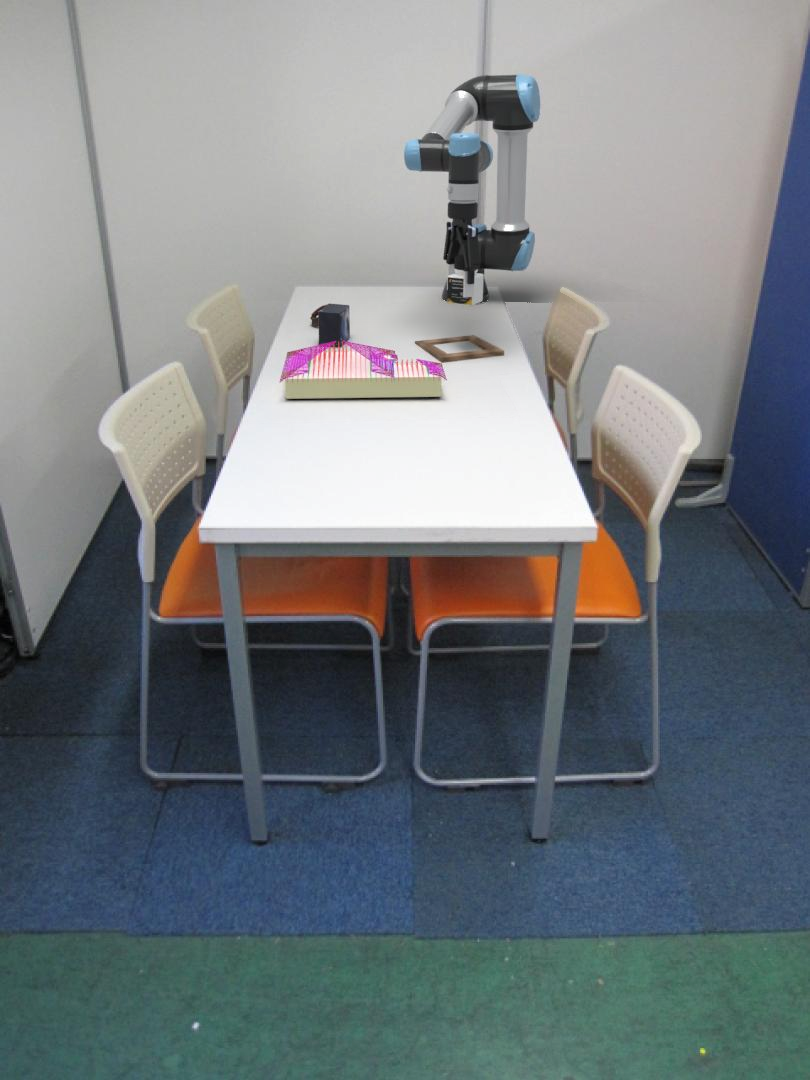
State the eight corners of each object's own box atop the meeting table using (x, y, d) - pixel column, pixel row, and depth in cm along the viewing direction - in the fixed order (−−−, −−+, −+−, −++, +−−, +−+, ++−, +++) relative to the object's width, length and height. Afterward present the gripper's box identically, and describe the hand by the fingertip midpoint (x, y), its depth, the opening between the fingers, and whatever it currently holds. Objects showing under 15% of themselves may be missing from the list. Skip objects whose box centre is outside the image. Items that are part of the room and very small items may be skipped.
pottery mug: (348, 334, 252) (334, 310, 247) (320, 348, 254) (305, 325, 249) (349, 316, 261) (335, 293, 256) (321, 329, 263) (307, 307, 259)
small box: (341, 351, 235) (340, 312, 230) (318, 350, 236) (316, 311, 231) (351, 341, 244) (350, 303, 239) (329, 340, 245) (327, 302, 241)
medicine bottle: (446, 303, 229) (447, 256, 223) (458, 298, 234) (460, 252, 229) (471, 306, 226) (473, 258, 220) (482, 301, 231) (484, 254, 226)
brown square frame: (473, 340, 246) (473, 335, 245) (503, 356, 231) (504, 350, 230) (414, 346, 239) (414, 341, 239) (441, 363, 225) (441, 357, 224)
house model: (437, 367, 223) (438, 327, 218) (446, 398, 201) (447, 354, 196) (288, 368, 222) (285, 328, 217) (280, 400, 199) (277, 356, 194)
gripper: (431, 197, 226) (430, 286, 236) (468, 206, 207) (465, 302, 218) (457, 196, 228) (455, 284, 238) (496, 205, 210) (492, 300, 220)
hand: (460, 293), depth 228 cm, fingers closed on medicine bottle, 9 cm apart
